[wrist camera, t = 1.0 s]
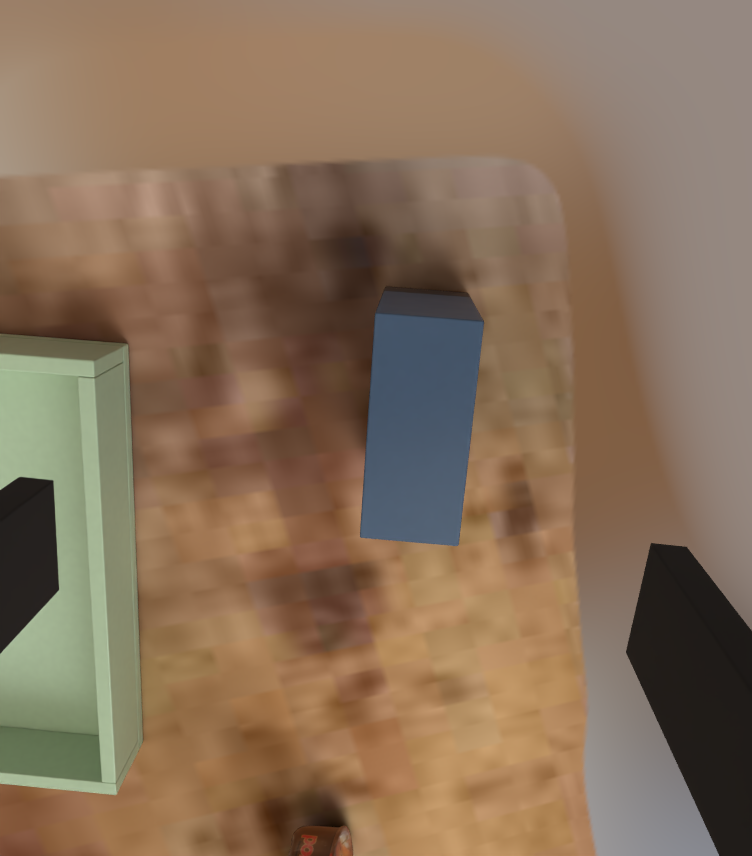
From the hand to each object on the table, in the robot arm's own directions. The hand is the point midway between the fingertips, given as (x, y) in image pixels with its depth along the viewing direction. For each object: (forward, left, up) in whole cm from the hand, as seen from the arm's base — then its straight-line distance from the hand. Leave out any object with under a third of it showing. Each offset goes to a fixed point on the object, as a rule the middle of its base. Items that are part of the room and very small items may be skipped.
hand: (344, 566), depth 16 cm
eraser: (0, +2, -16) cm, 16 cm away
